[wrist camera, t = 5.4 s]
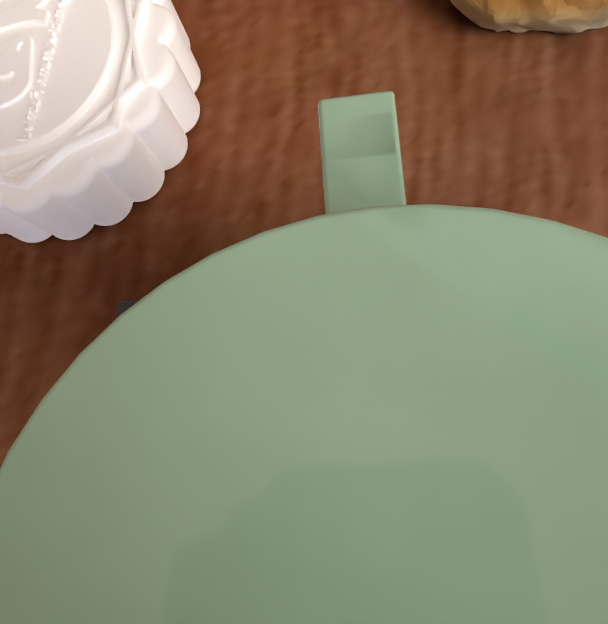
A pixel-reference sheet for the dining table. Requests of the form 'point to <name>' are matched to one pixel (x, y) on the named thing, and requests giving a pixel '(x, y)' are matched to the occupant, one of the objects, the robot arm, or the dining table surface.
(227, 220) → the dining table surface
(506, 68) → the dining table surface
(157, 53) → the mooncake
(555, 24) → the pastry
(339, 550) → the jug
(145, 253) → the dining table surface
